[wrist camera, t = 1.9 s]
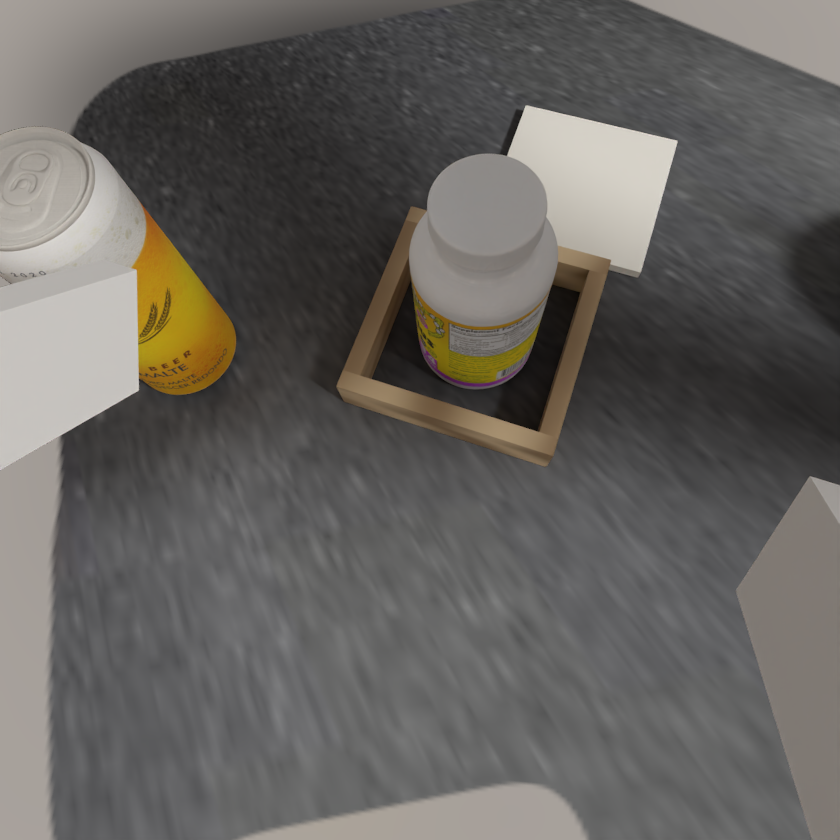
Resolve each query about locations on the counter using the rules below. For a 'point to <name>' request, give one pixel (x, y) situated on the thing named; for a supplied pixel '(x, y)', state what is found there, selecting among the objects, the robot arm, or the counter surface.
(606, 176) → the plate
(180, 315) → the beer can
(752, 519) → the counter surface
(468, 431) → the oak holder
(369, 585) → the counter surface
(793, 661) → the robot arm
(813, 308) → the counter surface
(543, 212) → the supplement bottle
